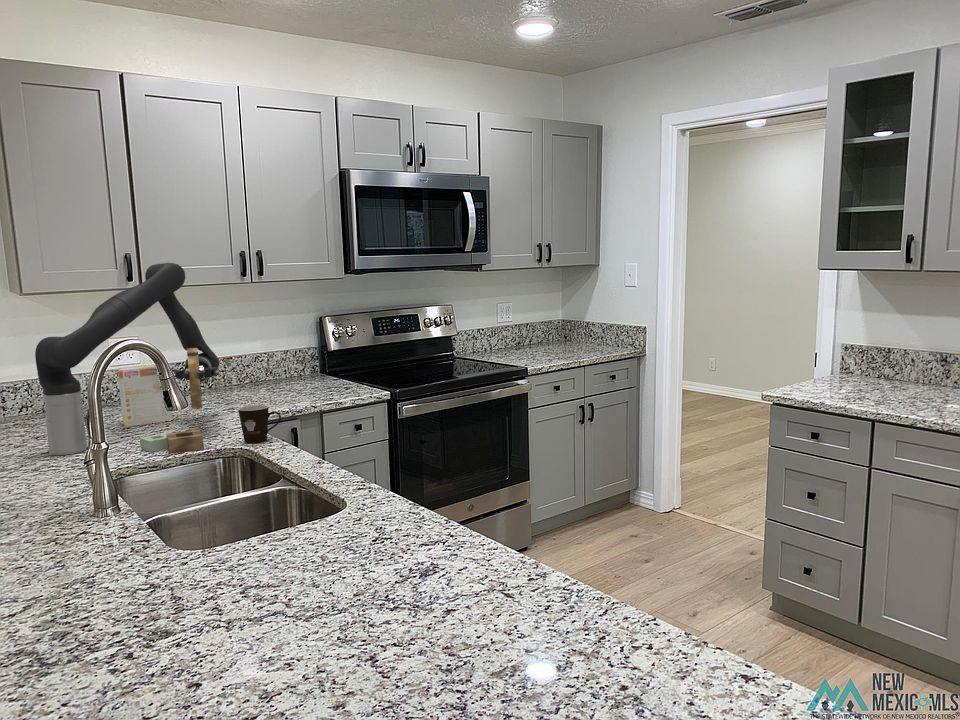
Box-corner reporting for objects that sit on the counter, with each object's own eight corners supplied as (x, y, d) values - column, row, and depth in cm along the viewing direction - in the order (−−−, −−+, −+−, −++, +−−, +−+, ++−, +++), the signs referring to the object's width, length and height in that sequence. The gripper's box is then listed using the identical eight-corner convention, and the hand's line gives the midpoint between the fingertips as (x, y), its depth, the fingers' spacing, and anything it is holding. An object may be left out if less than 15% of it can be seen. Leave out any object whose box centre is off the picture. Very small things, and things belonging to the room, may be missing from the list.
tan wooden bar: (191, 409, 214) (187, 349, 212) (190, 407, 217) (186, 348, 215) (202, 408, 216) (198, 348, 213) (201, 406, 218) (197, 347, 216)
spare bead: (150, 452, 202) (149, 441, 202) (140, 448, 207) (139, 438, 206) (175, 447, 207) (174, 436, 207) (164, 443, 212) (164, 433, 211)
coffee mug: (234, 443, 210) (231, 409, 209) (255, 436, 217) (253, 404, 216) (263, 446, 204) (261, 412, 203) (284, 439, 212) (282, 406, 211)
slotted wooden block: (169, 453, 200) (168, 439, 199) (167, 447, 208) (166, 433, 207) (204, 449, 204) (202, 435, 203) (200, 442, 212) (199, 429, 211)
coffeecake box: (169, 418, 251) (164, 363, 249) (173, 421, 245) (168, 365, 243) (122, 424, 244) (116, 367, 241) (125, 427, 238) (119, 369, 235)
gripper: (173, 359, 226) (166, 365, 210) (220, 356, 230) (217, 362, 214) (175, 382, 227) (168, 390, 211) (222, 379, 231) (219, 387, 215)
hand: (193, 376), depth 212 cm, fingers closed on tan wooden bar, 3 cm apart
